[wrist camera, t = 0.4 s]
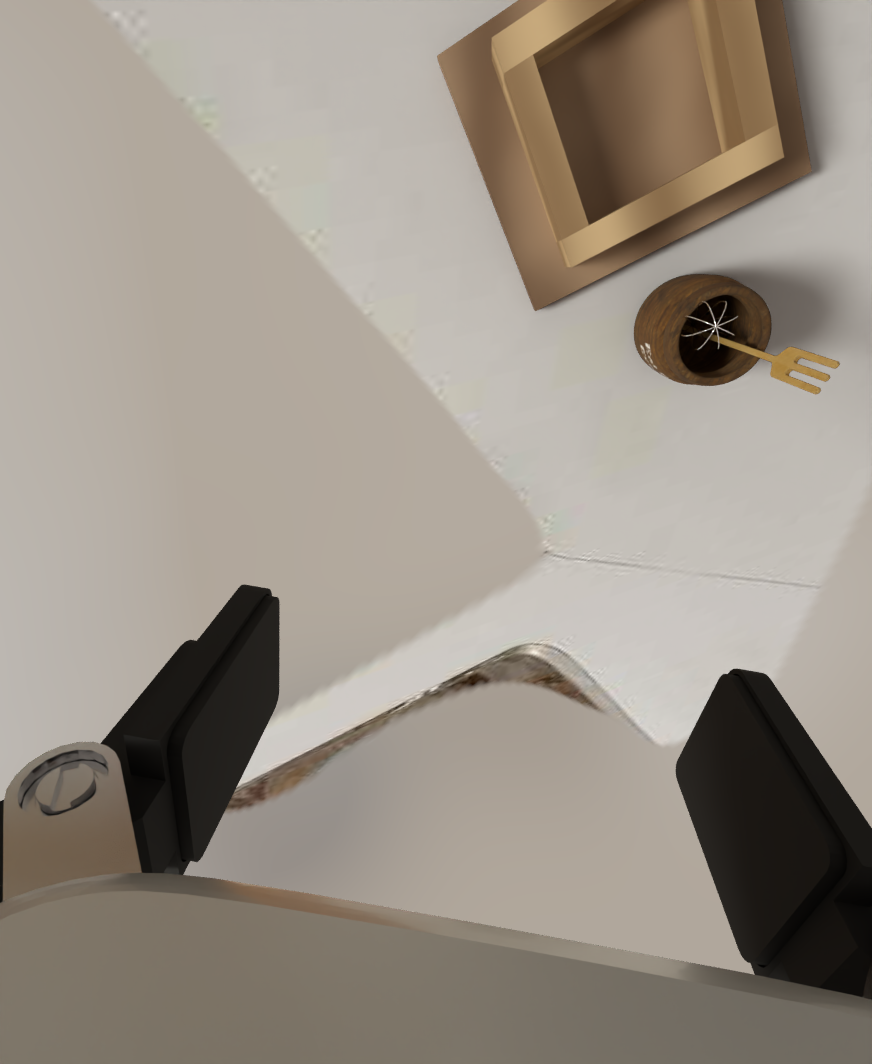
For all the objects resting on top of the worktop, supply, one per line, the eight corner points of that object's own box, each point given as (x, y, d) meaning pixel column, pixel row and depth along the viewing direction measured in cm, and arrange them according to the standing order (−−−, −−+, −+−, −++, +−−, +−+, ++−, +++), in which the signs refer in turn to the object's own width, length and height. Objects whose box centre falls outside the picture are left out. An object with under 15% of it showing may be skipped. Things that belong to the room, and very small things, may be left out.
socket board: (742, -143, 25) (787, -216, 21) (800, 174, 30) (844, 161, 26) (439, 63, 29) (431, 33, 25) (534, 309, 34) (539, 314, 30)
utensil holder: (661, 258, 32) (745, 252, 22) (752, 298, 33) (878, 312, 22) (613, 351, 35) (666, 388, 24) (697, 387, 35) (786, 439, 25)
